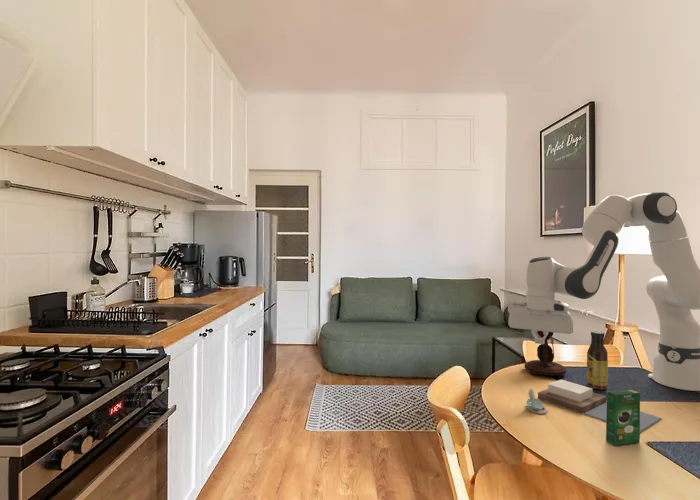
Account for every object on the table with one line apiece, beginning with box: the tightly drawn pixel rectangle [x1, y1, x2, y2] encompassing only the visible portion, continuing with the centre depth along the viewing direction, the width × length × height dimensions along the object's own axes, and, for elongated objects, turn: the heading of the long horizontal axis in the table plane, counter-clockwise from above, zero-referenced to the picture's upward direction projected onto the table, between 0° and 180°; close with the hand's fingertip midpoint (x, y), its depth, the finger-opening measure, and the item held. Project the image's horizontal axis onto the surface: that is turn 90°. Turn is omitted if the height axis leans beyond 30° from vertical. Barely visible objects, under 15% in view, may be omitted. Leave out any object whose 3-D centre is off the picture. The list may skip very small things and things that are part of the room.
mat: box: [583, 401, 662, 433], centre depth 112 cm, size 15×14×1 cm
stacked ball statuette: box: [524, 330, 567, 379], centre depth 152 cm, size 15×15×20 cm
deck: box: [537, 388, 607, 415], centre depth 124 cm, size 15×14×2 cm
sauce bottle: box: [586, 330, 609, 391], centre depth 136 cm, size 7×6×20 cm
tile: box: [547, 379, 594, 402], centre depth 125 cm, size 8×10×2 cm
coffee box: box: [605, 388, 641, 447], centre depth 98 cm, size 8×3×13 cm, turn 103°
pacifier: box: [524, 388, 548, 415], centre depth 117 cm, size 7×6×6 cm
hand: (539, 343), depth 133 cm, fingers closed
